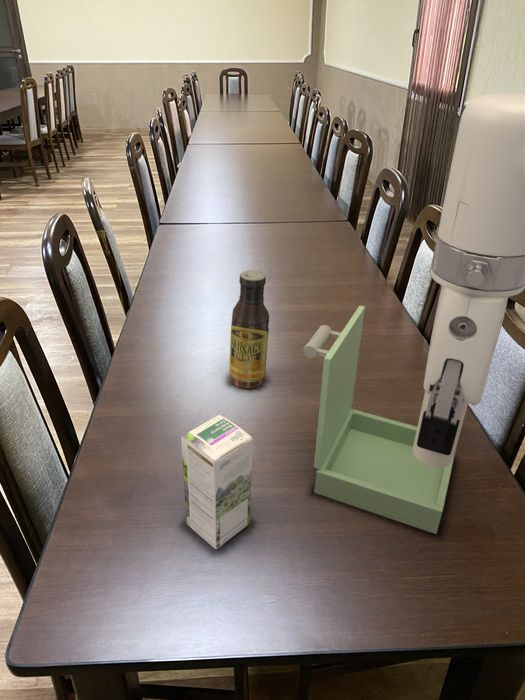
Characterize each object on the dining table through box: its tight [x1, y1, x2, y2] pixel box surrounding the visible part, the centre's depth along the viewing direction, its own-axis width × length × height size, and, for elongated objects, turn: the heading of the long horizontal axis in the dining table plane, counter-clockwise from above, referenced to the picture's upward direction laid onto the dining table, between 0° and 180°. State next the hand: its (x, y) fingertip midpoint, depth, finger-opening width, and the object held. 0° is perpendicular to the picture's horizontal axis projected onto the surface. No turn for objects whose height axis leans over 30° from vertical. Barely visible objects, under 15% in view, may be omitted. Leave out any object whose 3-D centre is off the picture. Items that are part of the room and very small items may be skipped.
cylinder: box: [412, 382, 469, 467], centre depth 53 cm, size 4×4×8 cm
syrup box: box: [180, 414, 254, 551], centre depth 62 cm, size 6×6×14 cm
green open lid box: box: [313, 408, 456, 535], centre depth 73 cm, size 16×15×4 cm
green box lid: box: [302, 305, 366, 470], centre depth 71 cm, size 17×15×5 cm
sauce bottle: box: [228, 269, 270, 389], centre depth 88 cm, size 6×6×20 cm
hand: (437, 433), depth 53 cm, fingers closed on cylinder, 4 cm apart
